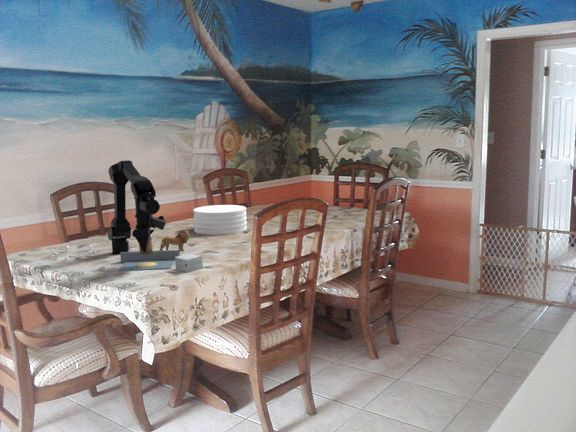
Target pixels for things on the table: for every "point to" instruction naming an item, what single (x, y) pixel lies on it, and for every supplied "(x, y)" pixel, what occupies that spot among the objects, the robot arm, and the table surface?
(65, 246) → the game piece set
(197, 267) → the small box
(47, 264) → the table surface
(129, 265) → the mat
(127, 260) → the low wall
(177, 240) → the lion figurine
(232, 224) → the plate stack
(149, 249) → the brown rounded cylinder
